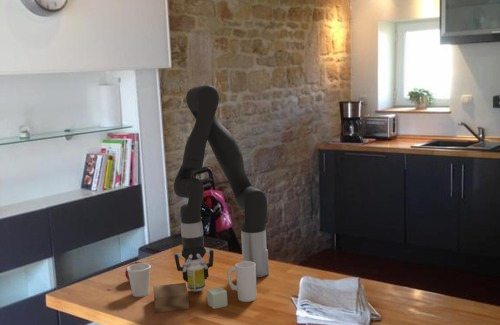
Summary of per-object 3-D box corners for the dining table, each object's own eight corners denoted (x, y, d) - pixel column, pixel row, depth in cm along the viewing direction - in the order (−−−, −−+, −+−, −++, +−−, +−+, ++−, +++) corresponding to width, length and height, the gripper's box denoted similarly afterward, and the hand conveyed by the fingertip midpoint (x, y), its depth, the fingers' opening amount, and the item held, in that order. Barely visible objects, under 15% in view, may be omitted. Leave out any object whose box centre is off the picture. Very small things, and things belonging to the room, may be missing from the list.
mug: (259, 295, 194) (258, 261, 192) (253, 303, 187) (251, 268, 186) (232, 293, 197) (230, 260, 195) (225, 300, 191) (223, 266, 189)
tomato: (129, 287, 207) (127, 266, 206) (123, 280, 215) (121, 260, 214) (152, 282, 211) (151, 262, 210) (145, 276, 219) (144, 256, 218)
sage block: (221, 300, 191) (220, 286, 190) (227, 305, 186) (226, 291, 186) (207, 304, 189) (207, 289, 188) (213, 309, 184) (212, 294, 184)
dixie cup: (136, 288, 206) (134, 262, 204) (156, 290, 203) (154, 263, 202) (124, 297, 198) (121, 269, 197) (145, 299, 195) (143, 271, 194)
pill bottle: (206, 285, 203) (204, 255, 201) (203, 291, 196) (201, 261, 195) (189, 285, 203) (187, 255, 201) (186, 292, 197) (183, 261, 195)
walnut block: (186, 296, 196) (185, 282, 195) (189, 308, 185) (188, 294, 185) (154, 300, 194) (153, 286, 193) (155, 312, 183) (154, 298, 183)
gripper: (211, 228, 202) (214, 273, 204) (170, 233, 199) (174, 279, 202) (214, 234, 195) (217, 280, 197) (172, 239, 192) (176, 286, 194)
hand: (195, 279), depth 199 cm, fingers closed on pill bottle, 6 cm apart
